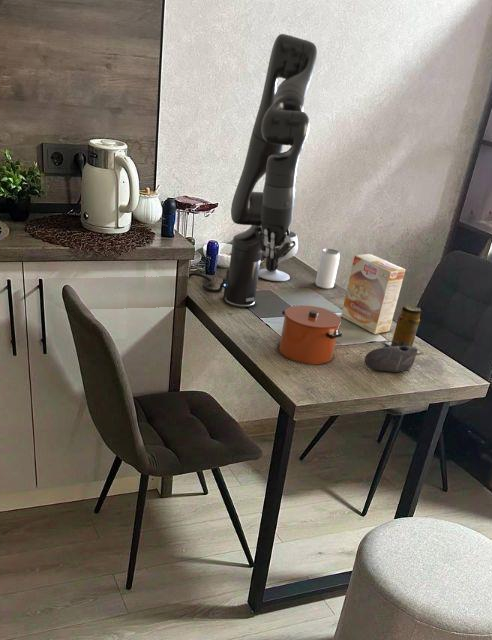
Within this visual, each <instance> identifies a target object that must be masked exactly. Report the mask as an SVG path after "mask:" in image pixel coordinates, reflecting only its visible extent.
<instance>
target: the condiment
mask: <svg viewBox="0 0 492 640" xmlns="http://www.w3.org/2000/svg"><path fill="white" fill-rule="evenodd" d="M421 313H422V310H421V308H420V307H418V306H416V305H412V304H405V305H403V306H402V309H401V312H400V314H399V315H398V318H397V322H396V325H395V329H394V332H393V337H392V338H391V339H392V340H391V341H385V342H384V344H386V345H387V346H388V347H391V346H408V347H414V346H413V345H414V342H415V339H416V335H417V332H418V328H419V324H420V322H421V320H420V319H421V318H420V317H421ZM421 353H422V351H421V350H418V349H417V354H421Z"/></svg>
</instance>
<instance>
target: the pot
mask: <svg viewBox="0 0 492 640" xmlns="http://www.w3.org/2000/svg"><path fill="white" fill-rule="evenodd" d="M281 315H283V316H284V318H283V324H282V330H281V336H280V340H279V346H278V350H279V352H280V353H281V354H282V355H283V356H284V357H286V358H288V359H290V360H292V361H296V362H298V363H303V364H310V365H311V364H312V365H317V364H318V365H319V364H320V365H321V364H325V363H328V362H330V361H331V360H332V359H333V356H334V353H335V347H336V343H337V339H338V338H341V337H342V336H343V332H341V331H339V329H340V326H341V324H342V319H341V318H342V317H341V316H339V315H338V314H336V313H335V312H334V311H331V310H329V309H326V308H322V307H318V306H313V305H301V304H300V305H292V306H289V307H287V308H286V309H284V310H282V312H281Z"/></svg>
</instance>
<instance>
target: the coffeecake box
mask: <svg viewBox="0 0 492 640" xmlns="http://www.w3.org/2000/svg"><path fill="white" fill-rule="evenodd" d="M405 274H406V269H405V268H403V267H401V266H400V265H399V266H398V265H397V264H395V263H392V262H390V261H387V260H386V259H383V258H381V257H378V256H376V255H375V254H371V253H363V254H354V257H353V262H352V265H351V269H350V274H349V278H348V279H349V280H348V284H347V288H346V293H345V297H344V302H343V306H342V310H341V315H340V318H343V319H345V320H347V321H349V322H351V323H353V324H355V325H357V326H359V327H361V328H363V329H364V330H366V331H368V332H370V333H372V334H373V335H377V334H381V333H387V332H390V329H391V326H392V322H393V318H394V315H395V311H396V308H397V303H398V300H399V297H400V296H399V295H400V292H401V288H402V285H403V281H404V277H405Z"/></svg>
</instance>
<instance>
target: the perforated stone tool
mask: <svg viewBox="0 0 492 640" xmlns="http://www.w3.org/2000/svg"><path fill="white" fill-rule="evenodd" d="M417 350H418V348H417V346H412V347H408V346H391V347H390V346H384V347H377V348H375V349H373V350H370V351H369V352H368V353H366V355H365V357H364V364H365V366H366V367H367V368H368V369H370V370H374V371H383V372H391V373H398V372H409V371H410V370H411V369H412V366H413V365H414V363H415V360H416V357H417V355H418V353H417Z"/></svg>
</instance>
